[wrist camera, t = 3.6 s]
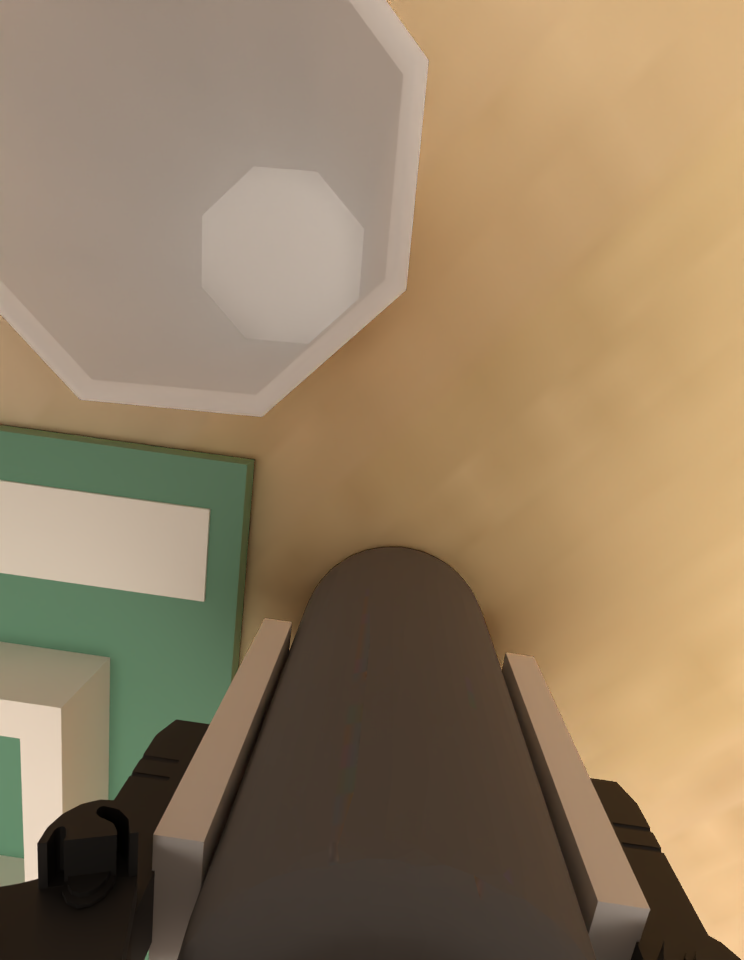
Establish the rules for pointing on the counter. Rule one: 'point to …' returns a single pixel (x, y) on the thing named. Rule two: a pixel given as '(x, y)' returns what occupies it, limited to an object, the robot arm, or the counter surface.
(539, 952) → the bottle
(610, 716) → the counter surface
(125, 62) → the cup
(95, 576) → the board
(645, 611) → the counter surface
